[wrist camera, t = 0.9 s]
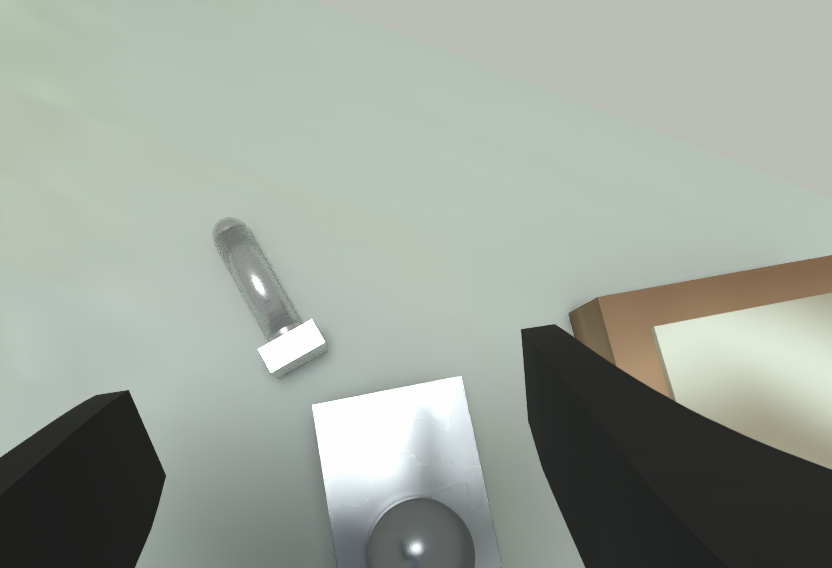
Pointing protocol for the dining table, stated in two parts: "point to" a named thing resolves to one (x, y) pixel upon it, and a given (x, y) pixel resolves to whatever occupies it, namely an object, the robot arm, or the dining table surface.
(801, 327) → the stand
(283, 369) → the loose bolt
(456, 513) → the block
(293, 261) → the dining table surface
